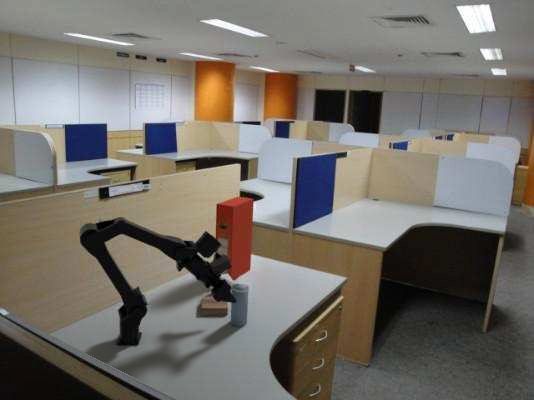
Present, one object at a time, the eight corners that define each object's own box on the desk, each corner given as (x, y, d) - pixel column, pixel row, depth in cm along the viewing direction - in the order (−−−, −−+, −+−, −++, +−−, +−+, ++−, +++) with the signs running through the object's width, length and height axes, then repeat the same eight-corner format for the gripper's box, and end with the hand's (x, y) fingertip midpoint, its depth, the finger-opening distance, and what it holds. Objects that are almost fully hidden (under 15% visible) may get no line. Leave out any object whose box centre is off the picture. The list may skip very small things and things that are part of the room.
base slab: (227, 314, 155) (227, 308, 154) (201, 314, 154) (201, 308, 153) (226, 303, 164) (227, 296, 163) (202, 303, 163) (202, 296, 162)
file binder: (213, 278, 185) (216, 203, 178) (234, 265, 200) (237, 196, 193) (230, 282, 181) (234, 206, 174) (250, 269, 197) (254, 199, 189)
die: (229, 290, 176) (215, 270, 174) (243, 287, 169) (228, 266, 168) (216, 304, 170) (201, 284, 168) (230, 301, 164) (214, 280, 162)
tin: (247, 326, 148) (249, 290, 145) (230, 327, 147) (232, 290, 144) (246, 318, 153) (248, 283, 150) (229, 318, 153) (231, 283, 150)
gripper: (226, 259, 132) (258, 289, 139) (208, 240, 149) (238, 267, 156) (199, 287, 131) (233, 316, 138) (185, 264, 148) (216, 291, 155)
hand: (231, 295), depth 147 cm, fingers open, 9 cm apart
